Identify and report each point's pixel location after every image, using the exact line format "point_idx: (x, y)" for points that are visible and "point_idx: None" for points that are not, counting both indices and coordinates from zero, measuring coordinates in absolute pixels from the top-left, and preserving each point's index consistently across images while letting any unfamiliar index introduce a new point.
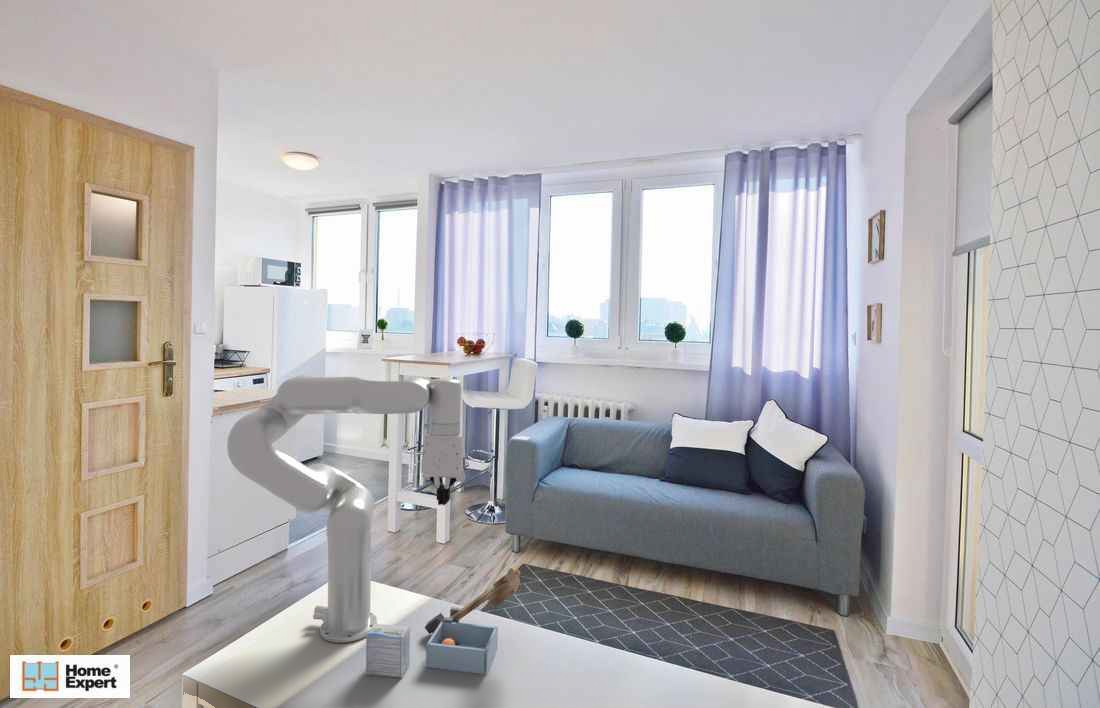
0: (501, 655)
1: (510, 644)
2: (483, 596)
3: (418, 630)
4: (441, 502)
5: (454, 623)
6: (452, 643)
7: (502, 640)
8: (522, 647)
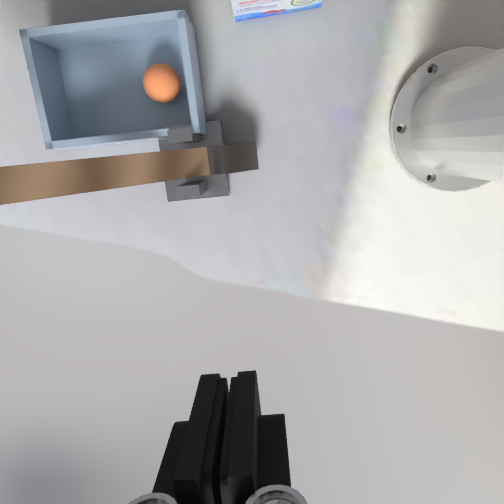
0: None
1: None
2: (57, 161)
3: (283, 166)
4: (231, 391)
5: (160, 130)
6: (144, 77)
7: None
8: None
